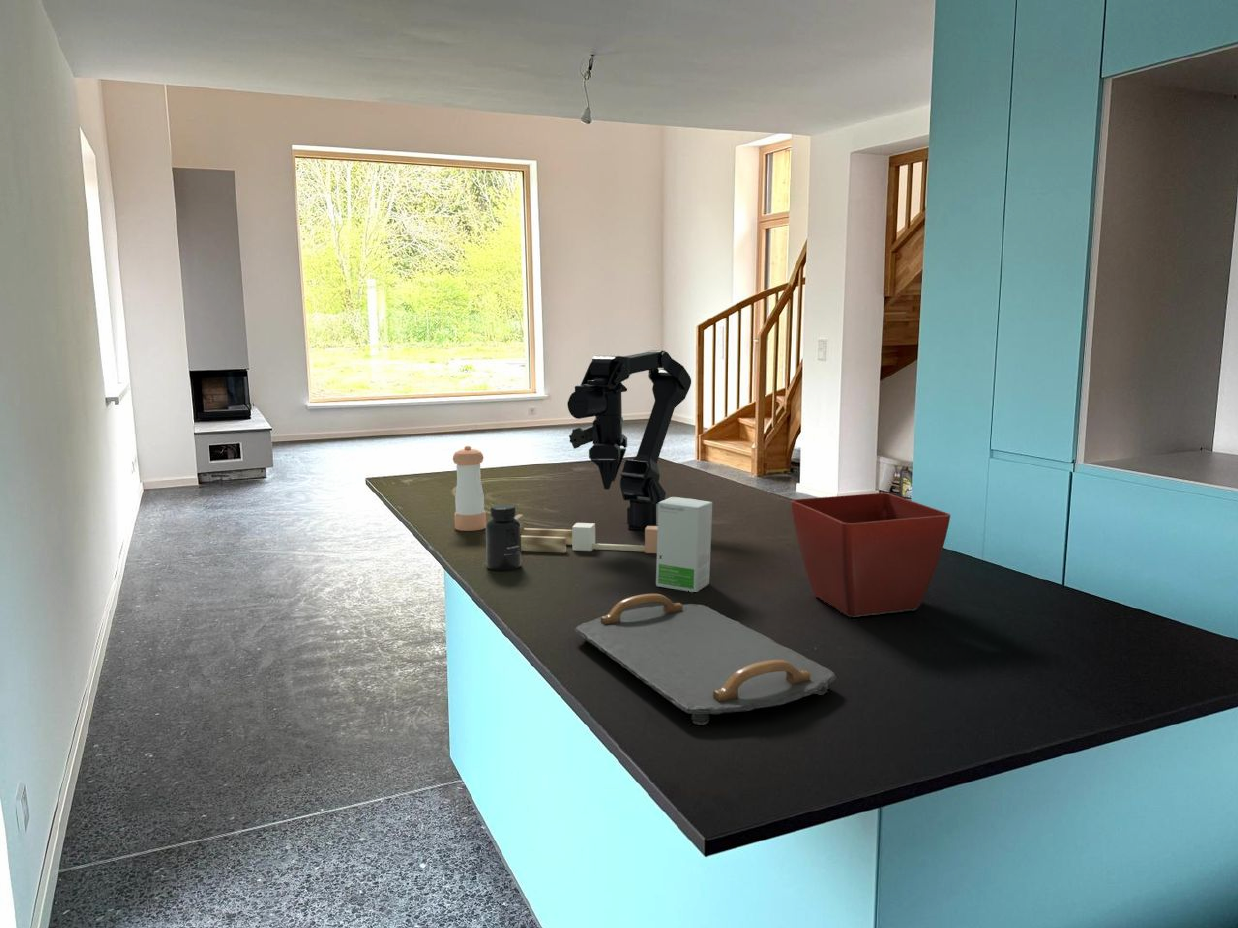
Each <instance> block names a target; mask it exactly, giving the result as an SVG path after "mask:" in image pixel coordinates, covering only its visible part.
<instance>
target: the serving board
mask: <svg viewBox="0 0 1238 928" xmlns="http://www.w3.org/2000/svg"><path fill="white" fill-rule="evenodd" d="M650 603H661V604H662V605H655V606H645V607H638V608H633V609H629V608H632V607H634V606H638V605H643V604H650ZM627 609H628V610H627ZM574 632H576V634H578V635H579V636H581V637H582V641H583V643H585V642H588V643H587V644H591V645H593V646H594V647H595V648H597V649H598V650H599V651H600V652H602V653H603V654H606V656H607V657H609V658H610V659H611V660H612V661H614V662H616V663H618V664H619V665H620V666H621V667H622V668H624V669H625V670H627V671H628V672H629V673H630V674H632V675H633V676H635V677H636V678H637V679H639V681H641V682H643V684H646V685H647V686H648V687H650V688H651V689H652V690H653V691H655V692H657V693H658V694H659V695H661V696H662V697H664V698H665V699H666V700H667V701H669V702H670V703H671V704H672V705H674V706H676V707H677V708H678V709H680V710H681V711H683V712H684V713H686V714H691V721H692V720H693V721H695V722H700V723H703V722H707V721H708V720H709V721H710V715H721V714H728V713H740V712H748V711H749V712H750V711H753V710H758V709H764V708H770V707H778V706H783V705H785V704H789V703H792V702H794V701H798V700H800V699H802V698H806V697H808V696H811V695H814V693H816V692H818V691H822V692H823V691H826V690H827V689H828V690H829V685H830V684H831V685H832V683H833V682H834V681H835V680H836V679H837V678H836V677H837V676H836V674H835V673H834V672H833V671H832V670H831V669H829V668H827V667H825V666H823V665H821V664H819V663H818V662H815V661H814V660H812V659H809V658H807V657H806V656H804V655H802V654H800V653H798V652H797V651H795V650H793V649H791V648H789V647H786V646H783V645H782V644H779V643H778V642H776V641H774V640H773V639H772V638H770V637H768V636H766V635H765V634H762V633H760V632H758V631H756V630H754V629H752V628H749V627H747V626H746V625H744V624H741V622H740V621H737V620H734V619H732V618H730V617H727V616H726V615H724V614H721V613H719V611H717V610H714V609H712V608H710V607H709V606H706V605H704V604H694V603H687V604H682V603H680V602H675V603H674V602H673V601H672V600H671V599H669V598H668V597H667V596H665V595H663V594H660V593H644V594H638V595H634V596H630V597H626V598H624V599H622V600H620V601H619V602H617V604H615V605H614V606H613V607H612V608H611V610H610V611H609V612H608V613H607V614H605V615H601V616H600V617H597V618H594V619H590V620H589V621H587V622H582V623H581V624H579V625H577V626H576V628H575V629H574Z"/></svg>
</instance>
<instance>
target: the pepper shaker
mask: <svg viewBox="0 0 1238 928" xmlns="http://www.w3.org/2000/svg"><path fill="white" fill-rule="evenodd" d="M452 461H453V463H454V464H455V465H456V489H455V497H454V501H455V503H454V504H455V512H454V529H455V530H457V531H462V532H463V531H464V532H471V531H473V532H474V531H480V530H484V529H486V524H487V514H486V511H485V496H484V492H483V491H484V490H483V486H482V485H483V484H482V477H481V476H482V474H481V464H482V463H483V461H484V454H483V453H482V452H481V451H480V450H478V449H475V448H472V446H470V445H466V446H464V447H463V448H462V449H460V450H458V451H455V452H454V453H453V456H452Z"/></svg>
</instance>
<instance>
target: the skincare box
mask: <svg viewBox="0 0 1238 928" xmlns="http://www.w3.org/2000/svg"><path fill="white" fill-rule="evenodd" d="M712 520H713V501H708V500H702V499H701V500H700V499H694V498H688V497H687V498H686V497H678V496H670V497H668V498H665V500H663V501H661V502H659V503H658V533H657V553H656V563H655V564H656V567H655V570H656V571H655V572H656V573H655V586H656V587H659V588H666V589H673V590H676V591H684V592H688V591H689V593H693V592H697V593H699V591H701V590H702V589H703V588H706V587H707V586H709V585H710V567H711V566H710V565H711V542H712Z"/></svg>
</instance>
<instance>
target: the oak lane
mask: <svg viewBox="0 0 1238 928" xmlns="http://www.w3.org/2000/svg"><path fill="white" fill-rule="evenodd" d="M524 518H525V517H524V514H521V513H520V514H519V513H518V514H516V516H515V519H517V520H518V521H519V522H520V524H521V552H541V553H543V552H544V553H546V552H547V553H566V552H567V545H571V546H572V529H563V528H562V529H561V528H560V529H559V528H536V527H534V528H532V527H531V528H530V527H525V526H524V525H525V524H524V523H525V522H524Z"/></svg>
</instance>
